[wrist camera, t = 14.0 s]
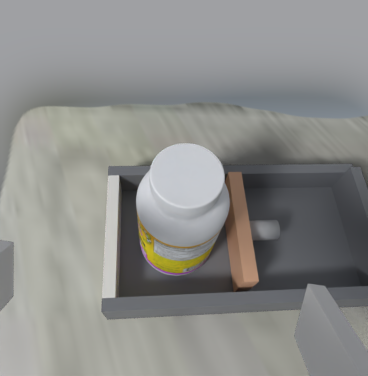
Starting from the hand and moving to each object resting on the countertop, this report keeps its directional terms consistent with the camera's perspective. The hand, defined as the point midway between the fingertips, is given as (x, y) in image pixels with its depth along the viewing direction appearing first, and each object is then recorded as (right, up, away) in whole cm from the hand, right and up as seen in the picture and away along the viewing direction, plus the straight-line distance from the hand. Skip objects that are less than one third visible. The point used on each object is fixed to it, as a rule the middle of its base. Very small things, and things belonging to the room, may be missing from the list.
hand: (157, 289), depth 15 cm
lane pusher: (+7, 0, +18) cm, 19 cm away
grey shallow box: (+6, -1, +19) cm, 20 cm away
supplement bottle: (0, -1, +17) cm, 17 cm away
